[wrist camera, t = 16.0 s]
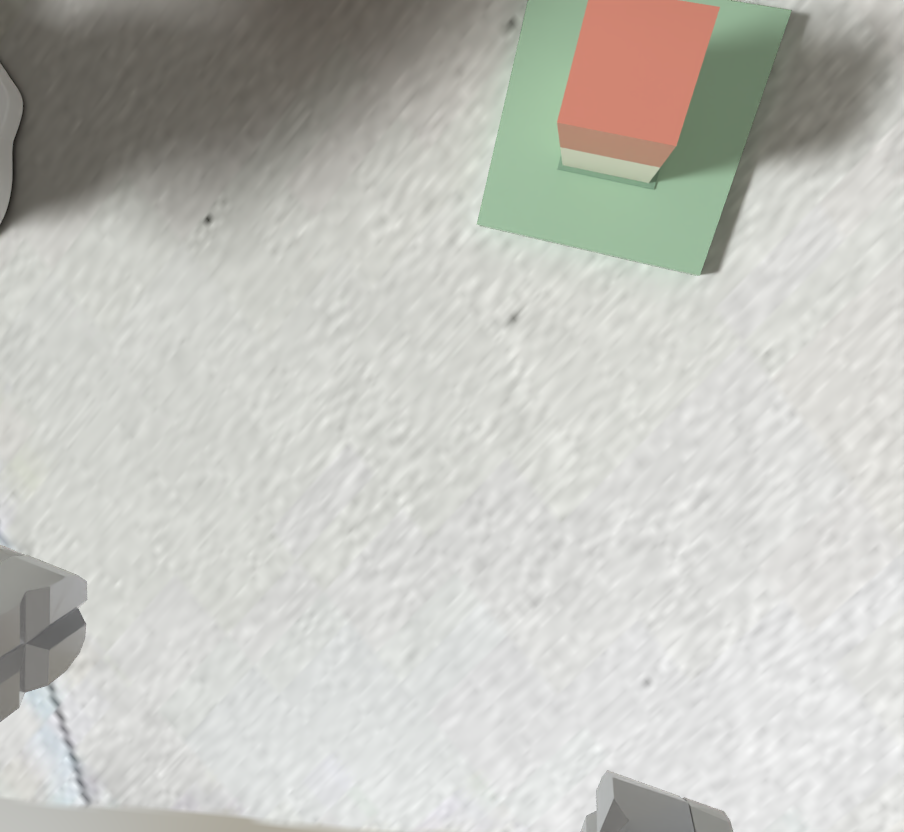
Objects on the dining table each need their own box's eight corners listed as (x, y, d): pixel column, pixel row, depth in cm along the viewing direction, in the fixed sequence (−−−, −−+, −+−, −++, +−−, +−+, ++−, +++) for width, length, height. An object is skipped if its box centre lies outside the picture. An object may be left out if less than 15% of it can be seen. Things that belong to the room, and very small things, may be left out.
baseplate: (480, 225, 34) (476, 223, 33) (536, -19, 30) (534, -32, 29) (695, 275, 32) (700, 275, 31) (783, 20, 28) (792, 9, 27)
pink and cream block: (562, 165, 31) (556, 122, 23) (587, 70, 30) (591, -14, 21) (648, 183, 30) (676, 146, 22) (678, 86, 29) (720, 6, 21)
